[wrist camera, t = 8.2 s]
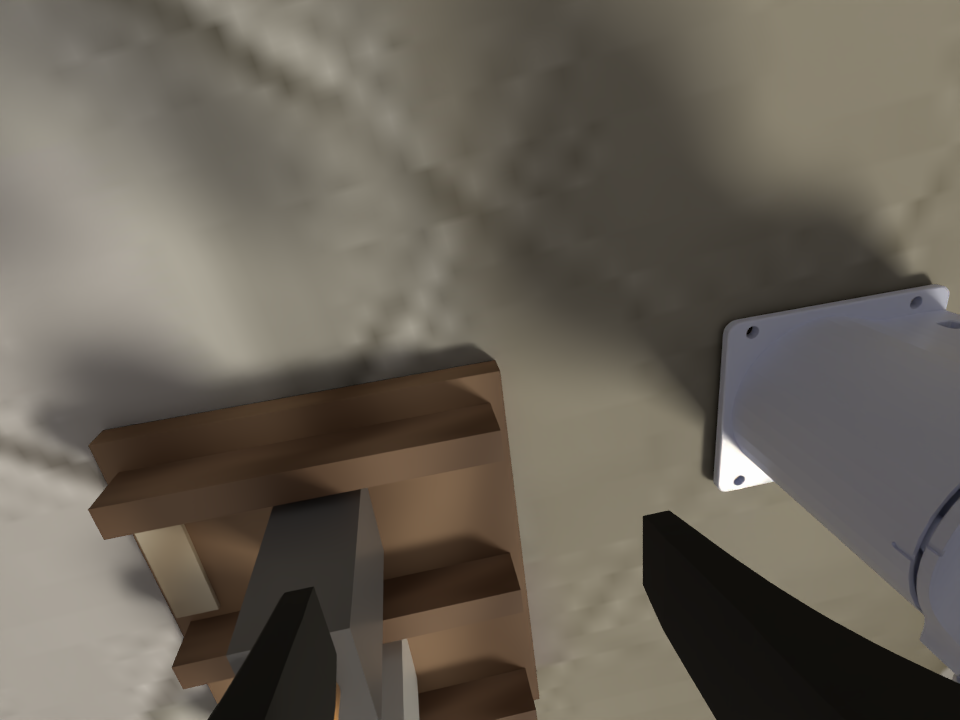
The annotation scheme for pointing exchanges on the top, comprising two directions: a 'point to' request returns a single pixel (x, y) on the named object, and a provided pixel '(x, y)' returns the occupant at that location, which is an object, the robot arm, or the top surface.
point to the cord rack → (331, 470)
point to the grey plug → (399, 682)
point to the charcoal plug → (325, 589)
